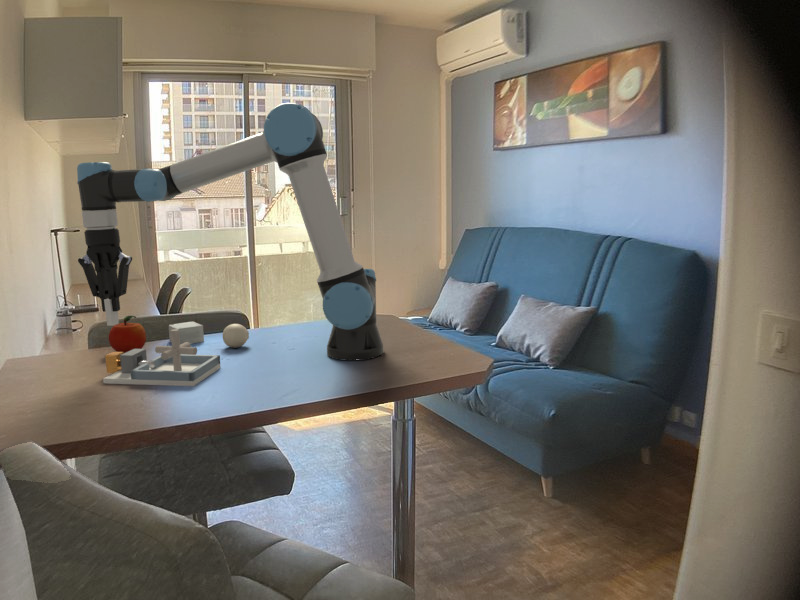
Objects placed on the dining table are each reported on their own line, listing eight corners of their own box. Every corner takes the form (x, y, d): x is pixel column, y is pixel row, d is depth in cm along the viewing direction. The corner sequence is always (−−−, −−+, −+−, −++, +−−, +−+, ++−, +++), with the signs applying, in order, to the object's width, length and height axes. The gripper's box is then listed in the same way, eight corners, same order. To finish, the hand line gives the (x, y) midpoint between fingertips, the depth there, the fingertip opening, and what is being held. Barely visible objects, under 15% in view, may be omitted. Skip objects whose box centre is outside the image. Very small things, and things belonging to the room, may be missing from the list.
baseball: (253, 347, 178) (252, 324, 177) (228, 351, 174) (226, 327, 173) (244, 342, 183) (243, 320, 182) (220, 346, 179) (218, 323, 178)
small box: (204, 342, 186) (203, 325, 185) (178, 346, 181) (176, 329, 180) (195, 337, 192) (193, 320, 191) (169, 341, 187) (167, 324, 186)
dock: (220, 367, 158) (219, 345, 157) (193, 386, 143) (191, 362, 142) (138, 365, 161) (136, 344, 160) (103, 383, 146) (101, 360, 145)
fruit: (101, 354, 172) (98, 318, 170) (128, 346, 181) (125, 312, 179) (128, 358, 168) (125, 321, 167) (154, 349, 177) (151, 314, 175)
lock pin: (157, 370, 154) (155, 352, 153) (150, 374, 151) (149, 356, 150) (114, 369, 155) (112, 351, 155) (106, 372, 152) (105, 355, 152)
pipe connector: (185, 378, 146) (182, 335, 144) (146, 375, 148) (143, 334, 146) (207, 365, 155) (204, 326, 154) (170, 364, 157) (167, 324, 156)
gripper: (135, 226, 154) (145, 320, 158) (85, 228, 156) (97, 321, 160) (118, 228, 147) (129, 327, 151) (66, 230, 148) (79, 328, 153)
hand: (113, 324), depth 155 cm, fingers closed
